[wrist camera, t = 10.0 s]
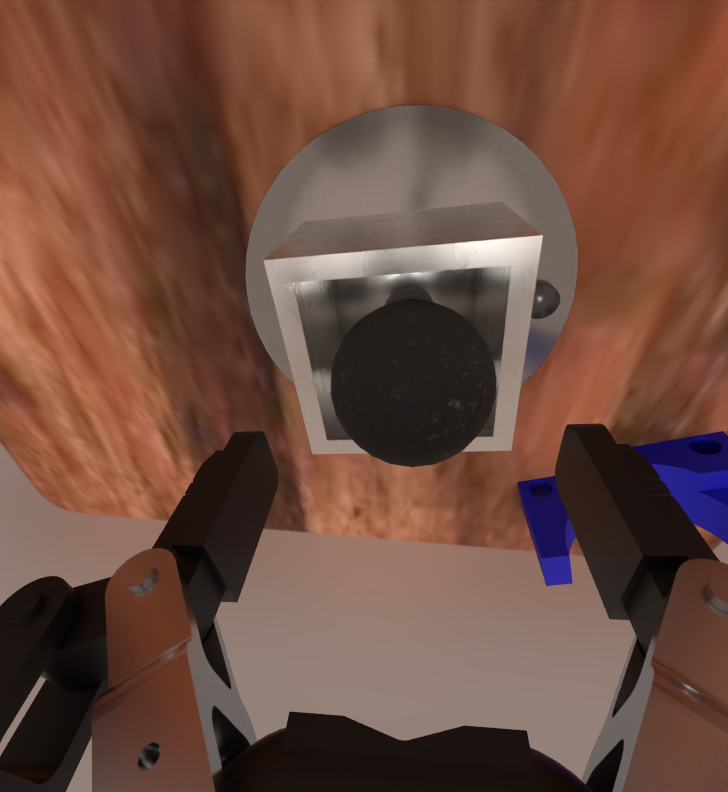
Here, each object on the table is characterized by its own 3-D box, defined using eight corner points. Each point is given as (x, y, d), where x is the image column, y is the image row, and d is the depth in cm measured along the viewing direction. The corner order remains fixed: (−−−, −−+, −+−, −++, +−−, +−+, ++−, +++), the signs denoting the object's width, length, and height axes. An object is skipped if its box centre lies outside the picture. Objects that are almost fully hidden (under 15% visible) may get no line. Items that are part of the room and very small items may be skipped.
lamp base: (208, 133, 17) (104, 138, 11) (608, 77, 14) (740, 47, 9) (289, 422, 26) (256, 507, 20) (542, 414, 23) (586, 508, 18)
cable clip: (720, 429, 23) (804, 510, 18) (711, 479, 26) (783, 563, 21) (514, 465, 26) (538, 543, 22) (522, 507, 29) (546, 585, 24)
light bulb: (409, 217, 17) (412, 309, 9) (491, 301, 19) (557, 441, 11) (330, 306, 20) (278, 439, 11) (409, 371, 21) (412, 525, 13)
